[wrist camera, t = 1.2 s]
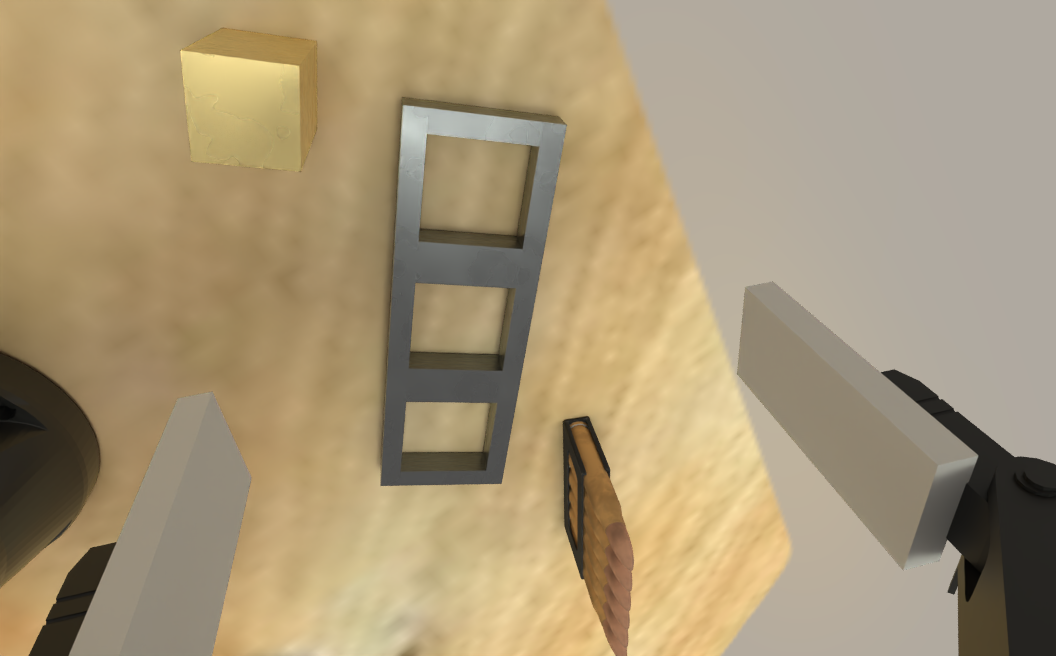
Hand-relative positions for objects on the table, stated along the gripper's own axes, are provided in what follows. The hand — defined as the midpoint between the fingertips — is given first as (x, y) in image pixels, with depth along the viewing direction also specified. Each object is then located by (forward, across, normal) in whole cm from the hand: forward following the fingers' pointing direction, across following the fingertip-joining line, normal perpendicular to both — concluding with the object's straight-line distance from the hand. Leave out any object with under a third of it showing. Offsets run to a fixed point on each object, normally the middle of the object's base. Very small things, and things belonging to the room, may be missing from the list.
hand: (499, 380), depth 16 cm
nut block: (+21, -7, +4) cm, 22 cm away
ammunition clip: (+21, +6, -25) cm, 33 cm away
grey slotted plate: (+20, 0, -10) cm, 23 cm away
